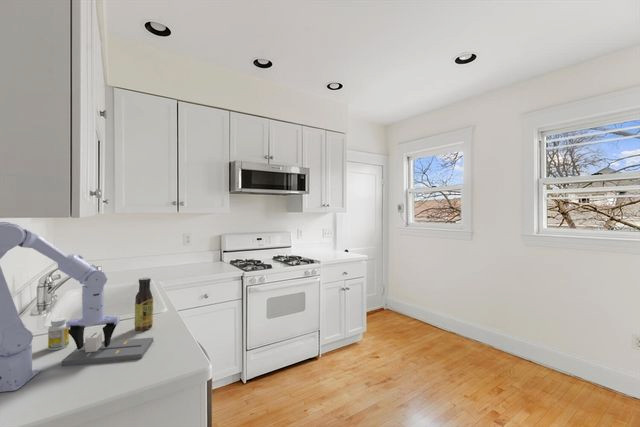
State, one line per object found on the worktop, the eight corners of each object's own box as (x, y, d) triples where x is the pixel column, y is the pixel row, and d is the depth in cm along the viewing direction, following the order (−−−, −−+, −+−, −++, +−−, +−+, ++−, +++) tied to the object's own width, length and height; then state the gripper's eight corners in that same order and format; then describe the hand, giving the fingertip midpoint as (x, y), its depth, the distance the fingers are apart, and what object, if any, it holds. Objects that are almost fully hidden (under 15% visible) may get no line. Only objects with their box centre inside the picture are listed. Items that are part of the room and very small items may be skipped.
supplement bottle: (53, 352, 99) (53, 323, 99) (45, 348, 101) (44, 320, 101) (72, 345, 104) (72, 318, 104) (63, 342, 106) (63, 315, 106)
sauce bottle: (144, 332, 115) (144, 281, 114) (130, 330, 116) (130, 280, 115) (157, 325, 121) (156, 277, 120) (143, 324, 122) (143, 276, 122)
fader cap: (96, 351, 96) (95, 337, 96) (85, 352, 96) (85, 338, 95) (102, 345, 100) (101, 331, 100) (91, 346, 100) (91, 332, 99)
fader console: (141, 358, 96) (141, 353, 96) (61, 366, 91) (61, 360, 91) (153, 341, 108) (153, 337, 107) (82, 347, 102) (82, 342, 102)
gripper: (123, 300, 103) (123, 339, 104) (74, 303, 100) (75, 343, 100) (114, 307, 96) (114, 349, 97) (61, 310, 93) (62, 353, 93)
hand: (93, 346), depth 98 cm, fingers open, 7 cm apart
